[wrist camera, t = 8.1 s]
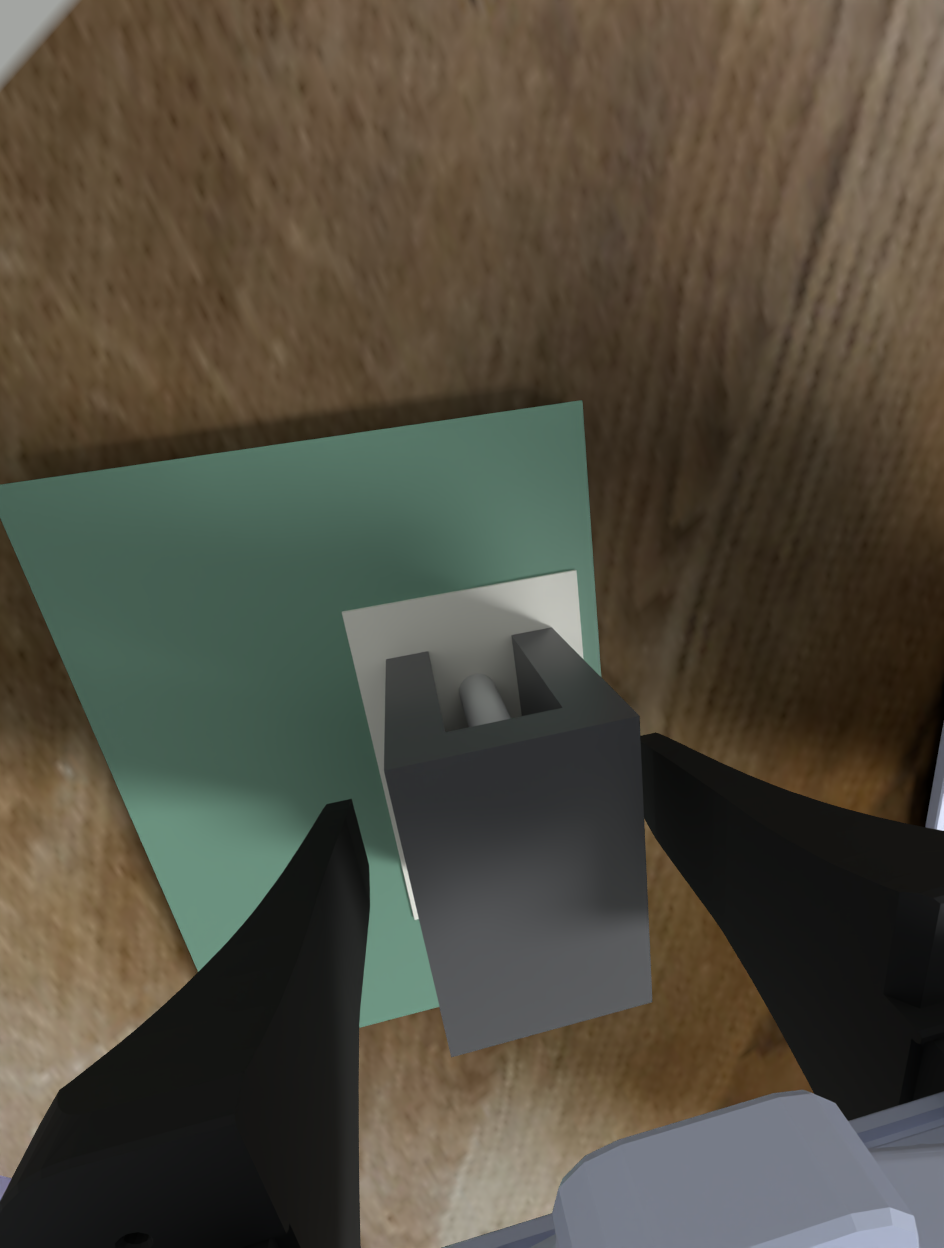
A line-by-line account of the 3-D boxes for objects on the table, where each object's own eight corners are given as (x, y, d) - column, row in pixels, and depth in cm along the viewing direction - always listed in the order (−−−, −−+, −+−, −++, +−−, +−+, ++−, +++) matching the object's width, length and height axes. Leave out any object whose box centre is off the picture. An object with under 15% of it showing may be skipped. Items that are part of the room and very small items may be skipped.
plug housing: (551, 627, 13) (638, 715, 9) (573, 839, 16) (652, 1002, 11) (385, 659, 13) (384, 770, 8) (432, 873, 15) (451, 1057, 11)
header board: (568, 404, 13) (637, 382, 9) (608, 933, 19) (660, 1045, 15) (19, 484, 12) (-147, 494, 8) (244, 1027, 17) (207, 1174, 14)
